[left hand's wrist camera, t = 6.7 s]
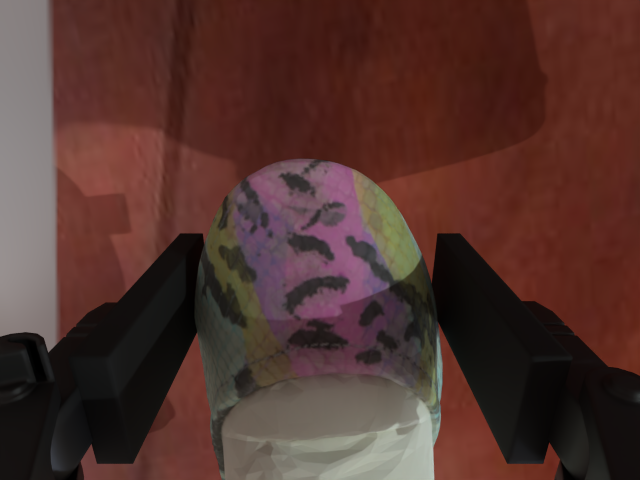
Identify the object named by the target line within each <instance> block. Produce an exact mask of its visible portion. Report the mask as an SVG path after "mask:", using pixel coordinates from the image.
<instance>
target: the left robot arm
mask: <svg viewBox="0 0 640 480" xmlns="http://www.w3.org/2000/svg"><path fill="white" fill-rule="evenodd" d="M203 247H204V240H203V234H179V236H178V237H177V238H176V239H175V240H174V241H173V242H172V243H171V244H170V245H169V246H168V248H167V249H166V250H165V251H164V252H163V253H162V254H161V255H160V256H159V257H158V259H157V260H156V261H155V262H154V263H153V264H152V265H151V266H150V267H149V268H148V270H147V271H146V272H145V273H144V274H143V275H142V276H141V277H140V278H139V279H138V281H137V282H136V283H135V284H134V285H133V286H132V287H131V288H130V289H129V290H128V292H127V293H126V294H125V295H124V296H123V297H122V298H121V299H120V300H119V301H118V302H117V303H104V304H103V305H101V306H99V307H97V308H96V309H94V310H92V311H90V312H89V313H87V314H86V315H85V316H84V317H83V318H82V319H81V320H80V321H79V322H78V323H77V324H76V327H74V328H73V329H72V330H71V331H70V332H69V333H68V334H67V336H66V337H64V338H63V339H62V340H61V341H60V342H59V343H58V344H57V345H56V346H55V347H54V348H53V349H52V350H51V351H50V352H49V353H48V351H47V347H46V344H45V341H44V338H43V337H41V336H40V335H38V334H36V333H27V332H24V333H15V334H9V335H5V336H2V337H0V480H84V474H83V469H82V465H81V462H80V461H81V459H82V458H83V456H84V455H85V453H86V451H87V450H88V448H89V447H90V445H91V443H92V447H93V451H94V454H95V458H96V461H97V464H133V463H134V461H135V458H136V456H137V454H138V452H139V450H140V448H141V446H142V444H143V442H144V440H145V438H146V436H147V434H148V432H149V430H150V428H151V426H152V424H153V422H154V419H155V417H156V415H157V413H158V411H159V409H160V407H161V405H162V403H163V401H164V399H165V397H166V395H167V393H168V391H169V389H170V387H171V385H172V383H173V381H174V378H175V376H176V374H177V372H178V370H179V368H180V366H181V364H182V362H183V360H184V358H185V356H186V354H187V352H188V350H189V348H190V346H191V344H192V342H193V339H194V337H195V335H196V333H197V328H196V324H195V317H194V314H195V290H196V281H197V274H198V267H199V263H200V259H201V255H202V251H203ZM432 288H433V292H434V297H435V301H436V309H437V316H438V322H439V325H440V327H441V329H442V331H443V333H444V335H445V337H446V339H447V341H448V343H449V345H450V347H451V349H452V351H453V353H454V355H455V357H456V359H457V361H458V363H459V366H460V368H461V370H462V372H463V374H464V376H465V378H466V380H467V382H468V384H469V386H470V388H471V390H472V392H473V394H474V396H475V398H476V400H477V402H478V405H479V407H480V409H481V411H482V413H483V415H484V417H485V419H486V421H487V423H488V425H489V427H490V429H491V431H492V433H493V435H494V437H495V439H496V441H497V443H498V446H499V448H500V450H501V452H502V454H503V456H504V458H505V460H506V462H507V464H543V463H544V459H545V455H546V452H547V448H548V445H549V442H550V444H551V446H552V447H553V449H554V450H555V452H556V453H557V455H558V457H559V458H560V462H559V465H558V469H557V472H556V475H555V479H554V480H640V376H639V375H637V374H635V373H632V372H629V371H626V370H622V369H619V368H613V367H608V366H607V365H606V364H605V363H604V362H603V361H602V360H601V359H600V358H599V357H598V356H597V355H596V354H595V353H594V352H593V351H592V350H591V349H590V348H589V347H588V346H587V345H586V344H585V343H584V342H583V341H582V340H581V339H580V338H579V337H578V336H575V335H574V332H573V331H572V330H571V329H570V328H569V327H568V326H565V325H564V322H563V321H562V320H561V319H560V318H559V317H558V316H557V315H556V314H555V313H554V312H553V311H551V310H549V309H547V308H546V307H544V306H542V305H540V304H539V303H537V302H535V301H521V300H520V299H519V298H518V297H517V296H516V294H515V293H514V292H513V291H512V290H511V289H510V288H509V287H508V286H507V285H506V283H505V282H504V281H503V280H502V279H501V278H500V277H499V276H498V275H497V274H496V272H495V271H494V270H493V269H492V268H491V267H490V266H489V265H488V264H487V263H486V262H485V260H484V259H483V258H482V257H481V256H480V255H479V254H478V253H477V252H476V251H475V249H474V248H473V247H472V246H471V245H470V244H469V243H468V242H467V241H466V240H465V238H464V237H463V236H462V235H461V234H437V243H436V251H435V260H434V269H433V278H432Z"/></svg>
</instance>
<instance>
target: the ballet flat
mask: <svg viewBox="0 0 640 480" xmlns="http://www.w3.org/2000/svg"><path fill="white" fill-rule="evenodd" d="M194 317H195V324H196V328H197V334H198V340H199V346H200V351H201V356H202V362H203V367H204V375H205V382H206V390H207V398H208V402H209V405H210V409H211V421H210V430H211V437H212V444H213V446H214V451H215V454H216V457H217V460H218V464H219V470H220V474H221V477H222V480H434V462H433V446H434V444H435V441H436V438H437V436H438V432H439V427H440V418H441V408H440V399H441V390H442V355H441V346H440V336H439V327H438V316H437V309H436V301H435V297H434V292H433V288H432V283H431V279H430V276H429V273H428V270H427V267H426V264H425V261H424V259H423V256H422V254H421V252H420V250H419V248H418V245H417V243H416V241H415V239H414V237H413V235H412V233H411V231H410V230H409V228H408V226H407V224H406V222H405V220H404V218H403V216H402V215H401V213H400V212H399V210H398V209H397V207H396V206H395V204H394V203H393V201H392V200H391V199H390V198H389V197H388V196H387V194H386V193H385V192H384V191H383V190H382V189H381V188H380V187H378V186H377V185H376V184H375V183H374V182H373V181H372V180H370V179H369V178H367V177H366V176H364V175H363V174H361V173H360V172H358V171H356V170H354V169H352V168H349V167H346V166H344V165H341V164H338V163H334V162H330V161H325V160H317V159H289V160H284V161H280V162H276V163H273V164H270V165H267V166H266V167H264V168H262V169H260V170H258V171H257V172H255V173H253V174H251V175H249V176H248V177H246V178H245V179H244V180H242V181H241V182H240V183H239V184H238V185H236V186H235V187H234V188H233V190H232V191H231V192H230V193H229V194H228V195H227V196H226V197H225V199H224V201H223V203H222V205H221V206H220V208H219V210H218V212H217V214H216V216H215V218H214V220H213V223H212V225H211V228H210V231H209V233H208V236H207V239H206V241H205V244H204V247H203V251H202V255H201V259H200V263H199V267H198V274H197V281H196V290H195V314H194Z"/></svg>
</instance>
